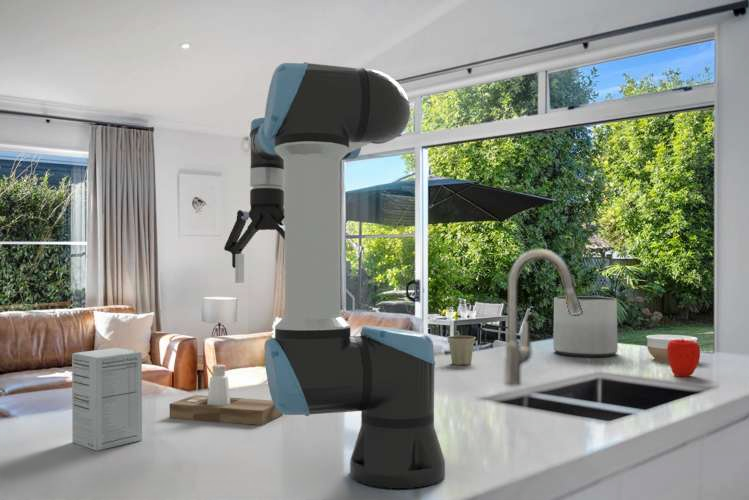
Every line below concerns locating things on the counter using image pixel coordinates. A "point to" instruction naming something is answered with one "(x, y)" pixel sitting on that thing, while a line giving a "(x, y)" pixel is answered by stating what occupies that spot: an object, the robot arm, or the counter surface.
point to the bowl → (663, 345)
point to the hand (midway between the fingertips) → (266, 283)
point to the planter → (586, 327)
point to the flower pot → (461, 349)
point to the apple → (683, 357)
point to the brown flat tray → (225, 410)
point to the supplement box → (106, 398)
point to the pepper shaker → (218, 387)
